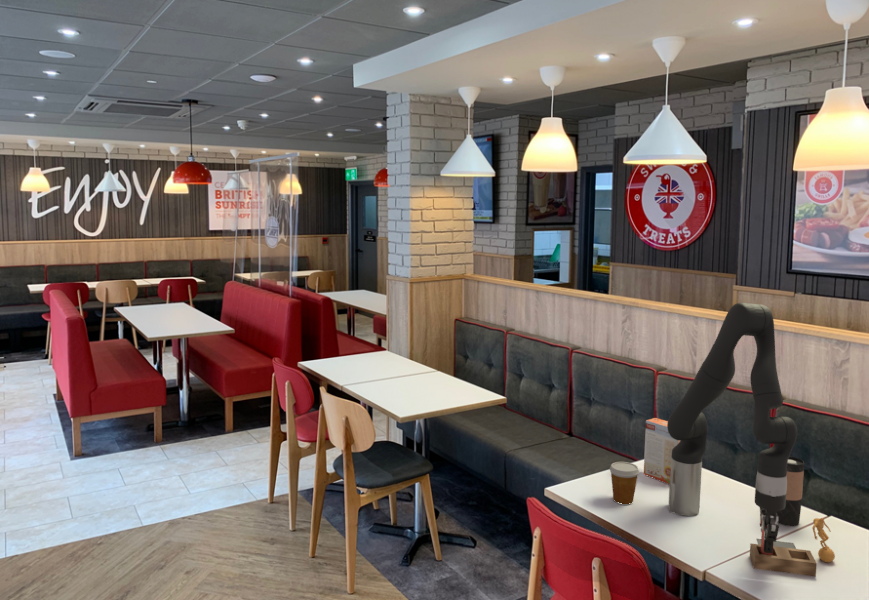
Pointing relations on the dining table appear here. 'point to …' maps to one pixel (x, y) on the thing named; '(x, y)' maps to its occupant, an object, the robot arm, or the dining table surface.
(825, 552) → the figurine
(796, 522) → the travel mug
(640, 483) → the dining table surface
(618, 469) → the disposable coffee cup
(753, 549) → the hole block
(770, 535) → the peg
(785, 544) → the mat
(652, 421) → the cracker box
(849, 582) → the dining table surface
